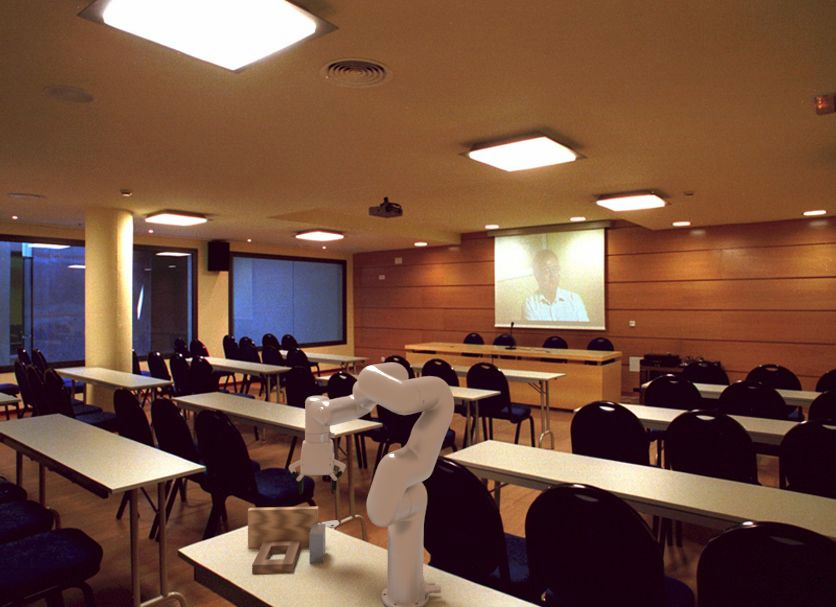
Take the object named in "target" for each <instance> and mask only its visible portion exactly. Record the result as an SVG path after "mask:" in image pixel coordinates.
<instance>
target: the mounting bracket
mask: <svg viewBox="0 0 836 607" xmlns="http://www.w3.org/2000/svg"><path fill="white" fill-rule="evenodd" d="M321 524H325V528H330V529H334V528H337V525H339V524H340V522H339V520H338V519H334V520H327V521H322V522H321Z"/></svg>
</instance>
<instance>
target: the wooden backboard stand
mask: <svg viewBox="0 0 836 607" xmlns="http://www.w3.org/2000/svg"><path fill="white" fill-rule="evenodd" d="M312 524H319V506H277V507H274V506H273V507H270V506H269V507H249V508H248V510H247V548H249V549H252V548H253V549H255V548H259V550H258V553H257V554H256V556H255V558H254V559H253V563H252V564H251V573H252V574H254V575H255V574H281V573H282V574H283V573H286V574H287V573H293V572H294V569H295V566H296V563H297V559H298V557H299V554H300V550H301V547H309V534H310V531H311V528H312ZM272 554H273V555H275V554H276V555H277V554H279V555H280V554H285V555H284V556H283V557H284V558H282V559H281V558H279V559H277V558H276V559H270V557H271V555H272Z"/></svg>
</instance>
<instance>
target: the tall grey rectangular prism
mask: <svg viewBox="0 0 836 607" xmlns="http://www.w3.org/2000/svg"><path fill="white" fill-rule="evenodd" d="M308 547H309V548H308V549H309V550H308V551H309V562H308V563H309V564H311V565H312V564H314V565H317V564H324V560H325V557H324V556H326V527H325V524H322V523H318V524H312V528H311V531H310V534H309V546H308ZM309 564H308V565H309Z"/></svg>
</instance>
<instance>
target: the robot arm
mask: <svg viewBox="0 0 836 607" xmlns="http://www.w3.org/2000/svg"><path fill="white" fill-rule="evenodd" d="M358 374H359V375H358V377H357V381H356V382H355V383H354V384H353V386H352V394H350V395H347V396H340V397H336V398H333V399H330V398H329V397H328V396H325V395H312V396H308V397H307V398H306V399H305V401H304V403H305V405H304V406H305V408H304V409H305V410H304V412H305V413H304V418H305V419H304V422H305V424H304V436H305V437H304V440H303V441H302V444H301V445H302V446H301V451H300V459H299V460H297V461H295V462H293V463H291V464H289V466H288V470H289V472H290V473H291V476H292V477H293V478H295V480H296V481H297V491H299V495H303V492H304V477H305V476H330V477H331V493H330V494H332V495H334V494H335V491H337V489H338V480H339V478H340V477H341V476H342V475H343V473H344V471H345V469H346V468H347V465H346V463H343V462H341V461H339V460H337V459H335V445H334V442H333V438H335V437H336V433H335V432H332V431H331V427H332V426H335V425H340V424H344V423H348V422H349V423H350V422H352V421H355V420H357V419H360V418H362V417H363V416H365V415H367V414H368V413H370V412H372V411H373V409H374V408H375V407H376V406H377V405H379V406H381V407H383V408H384V409H387V410H389V411H390V412H392V413H395V414H397V415H402V416H407V415H412V414H416V413H421V412H422V413H421V415H420V416H419V418H418V419H417V420H416V422H415V423H414V425H413V427H412V429H411V432H410V436H409V438H408V441H407V443H406V444H405V445H404V446H403V447H401V448H399V449H396V450H393V451H391V452H388V453H387V454H385V455H384V456H383V457H382V458H381V460H380V462H379V463H378V465H377V468H376V469H375V473H374V476H373V480H372V482H371V485H370V489H369V491H368V495H367V498H366V507H365V508H366V513H367V517H368V519H369V520H370V522H371V523H372V524H373V525H375V526H376V527H378V528H387V575H386V576H387V581H386V582H387V584H386V585H387V586H386V587H385V588H384V589H383V590H382V591H381V601H382V603H383V604H384V605H385V607H424V606H426V605H427V603H428V602H429V599H430V594H441V592H442V588H441V586H442V585H441V584H436V581H433V580H431V581H427V580H425V576H424V529H425V528H424V525H425V524H424V523H425V516H426V511H427V505H428V492H427V488H426V486H425V485H424V483H423V482H424V481H425V480H427V479H428V478H430V476H431V475H432V474H433V472H434V468H435V465H436V463H437V460H438V459H439V458H438V457H439V455H440V452H441V449H442V446H443V442H444V441H445V437H446V435H447V432H448V430H449V428H450V426H451V423H452V421H453V416H454V412H455V400H454V396H453V391H452V389H451V388H450V386H449V384H448V383H447V382H446V381H445V380H444V379H442V378H441V377H439V376H431V375H427V376H419V377H415V378H410V379H409V372H408V370H407V369H406V367H404V366H403V365H402V364H400V363H398V362H392V361H391V362H383V363H377V364H371V365H368V366H365V367H364V368H363V369H362V370H361V371H360V372H359V373H358ZM335 466H337V467H339V470H338V471H337V472H336V471H335V470H334V469H335ZM297 467H299V470H300V473H299V472H298V471H297V470H296V468H297Z"/></svg>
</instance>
